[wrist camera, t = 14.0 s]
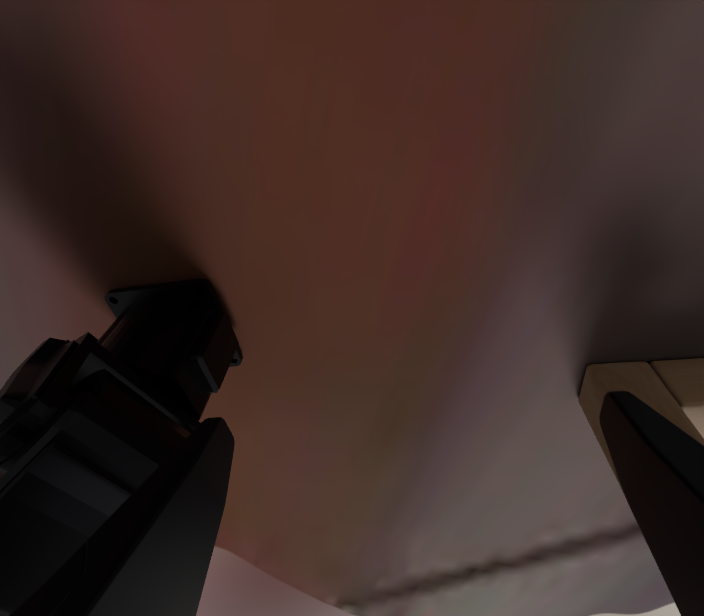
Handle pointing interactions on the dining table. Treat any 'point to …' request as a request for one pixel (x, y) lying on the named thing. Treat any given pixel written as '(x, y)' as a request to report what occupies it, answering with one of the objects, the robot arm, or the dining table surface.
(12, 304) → the dining table surface
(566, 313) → the dining table surface
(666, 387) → the wooden block
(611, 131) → the dining table surface
